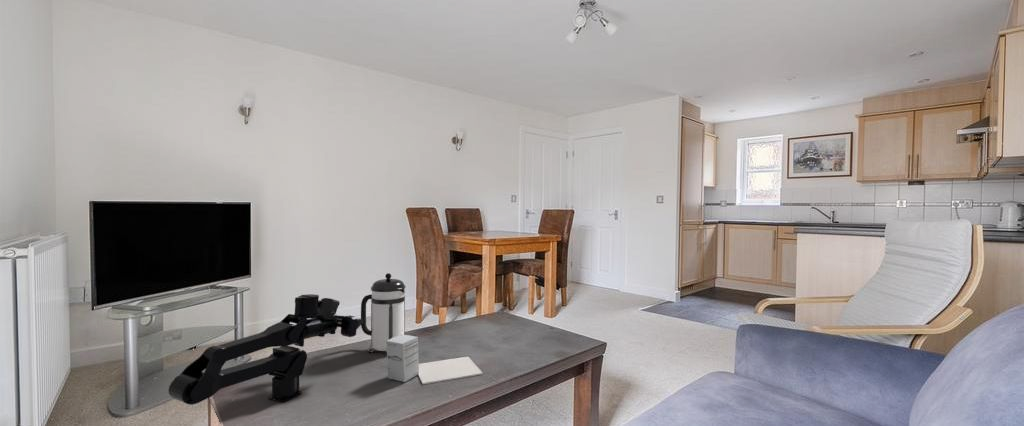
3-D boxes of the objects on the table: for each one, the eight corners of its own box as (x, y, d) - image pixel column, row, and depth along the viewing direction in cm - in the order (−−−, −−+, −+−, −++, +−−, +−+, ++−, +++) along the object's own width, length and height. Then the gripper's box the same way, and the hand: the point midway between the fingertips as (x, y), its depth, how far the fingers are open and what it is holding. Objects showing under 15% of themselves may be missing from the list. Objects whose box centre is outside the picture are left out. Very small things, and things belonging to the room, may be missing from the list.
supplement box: (387, 379, 130) (385, 340, 130) (403, 370, 137) (401, 333, 136) (404, 383, 127) (402, 343, 126) (420, 373, 133) (418, 336, 133)
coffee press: (405, 341, 167) (405, 269, 167) (410, 354, 152) (410, 275, 152) (360, 346, 161) (360, 271, 160) (361, 360, 146) (361, 277, 146)
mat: (422, 384, 126) (422, 383, 126) (413, 366, 141) (413, 364, 141) (482, 374, 134) (482, 372, 134) (468, 357, 149) (468, 356, 149)
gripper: (337, 304, 123) (375, 298, 137) (296, 298, 131) (336, 293, 145) (334, 341, 122) (372, 331, 136) (294, 332, 130) (334, 324, 144)
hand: (353, 319), depth 141 cm, fingers open, 9 cm apart
